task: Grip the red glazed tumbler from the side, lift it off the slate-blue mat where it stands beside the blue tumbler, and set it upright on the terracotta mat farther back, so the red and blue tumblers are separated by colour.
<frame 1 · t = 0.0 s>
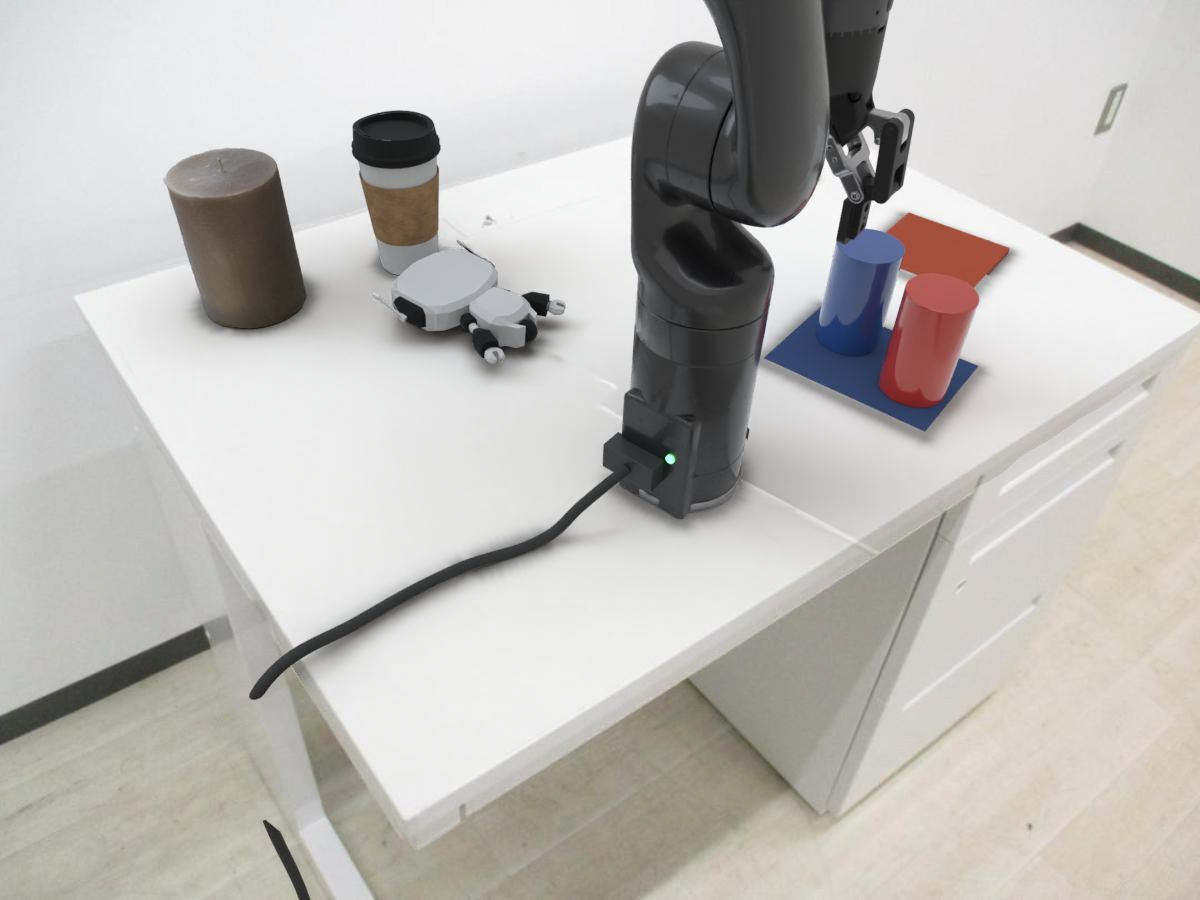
hand: (797, 220, 73), 17 cm above the table, tool pointing down, fingers open, 8 cm apart
pillar candle: (255, 302, 93), on the table
coffee cup: (410, 262, 99), on the table
red tumbler: (911, 386, 85), point 1 cm above the table, touching blue mat
red mat: (934, 255, 103), on the table
robot toy: (474, 326, 91), on the table
blue tumbler: (847, 337, 91), point 1 cm above the table, touching blue mat
blue mat: (869, 366, 88), on the table
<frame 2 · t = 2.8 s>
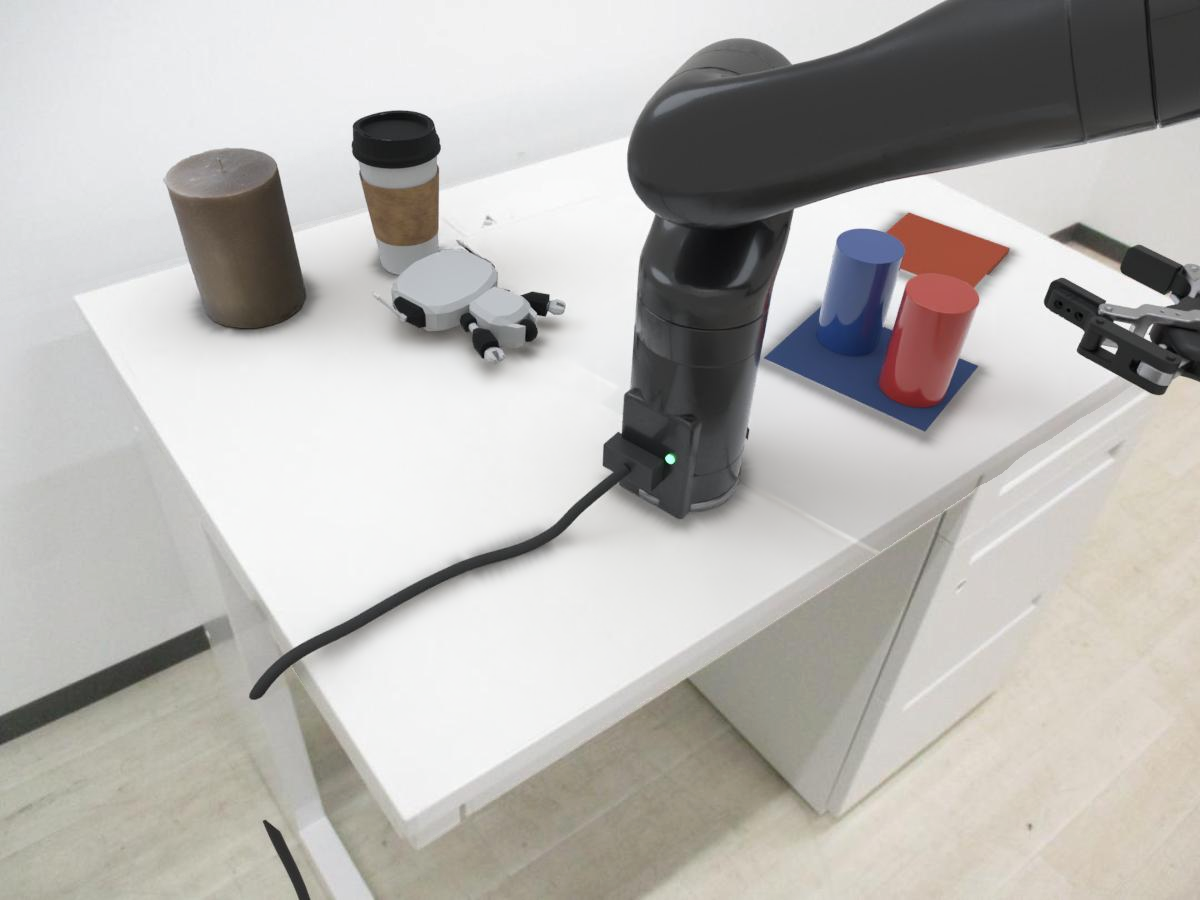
hand: (1089, 273, 67), 18 cm above the table, tool horizontal, fingers open, 8 cm apart
nothing on the table moved.
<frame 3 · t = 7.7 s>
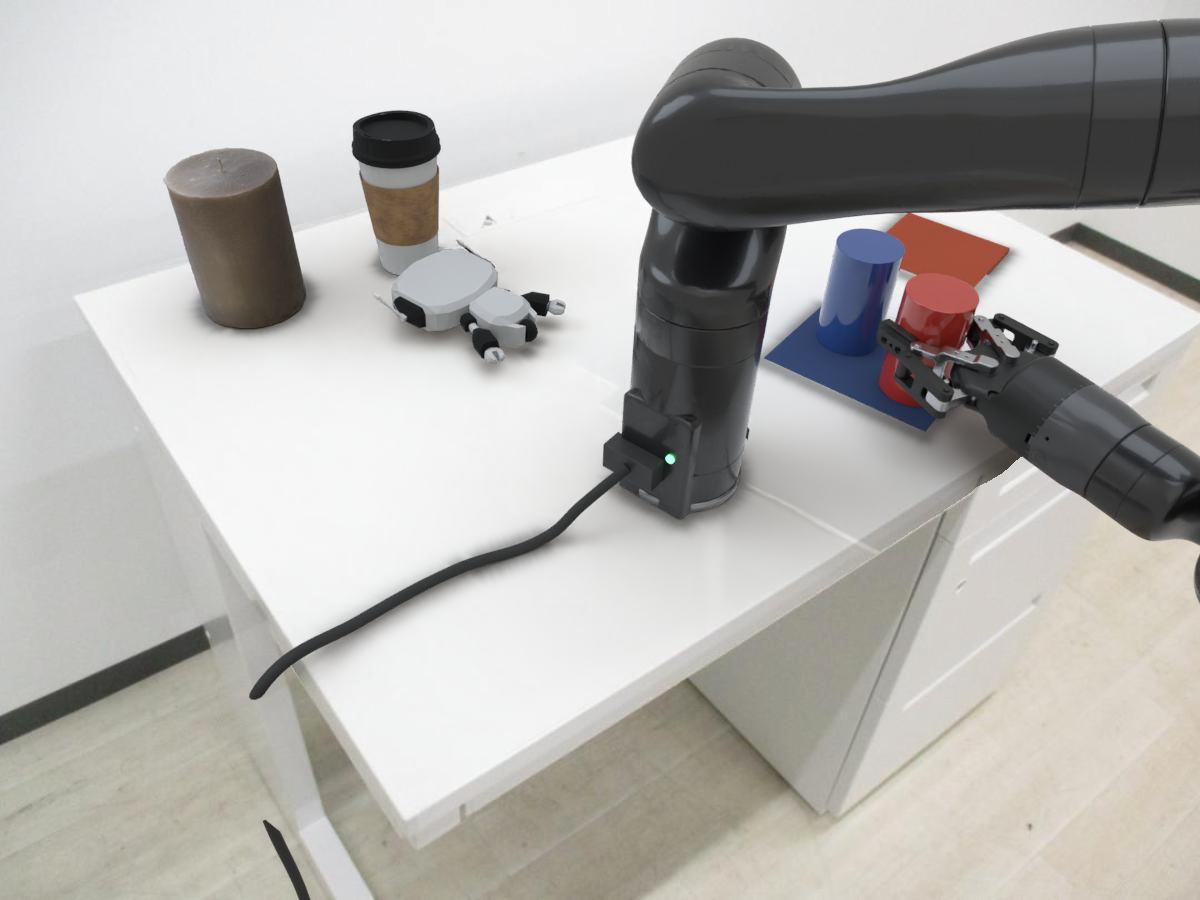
hand: (908, 317, 83), 7 cm above the table, tool horizontal, fingers closed on red tumbler, 6 cm apart
red tumbler: (911, 386, 85), point 1 cm above the table, touching blue mat, gripper
everything else where it was.
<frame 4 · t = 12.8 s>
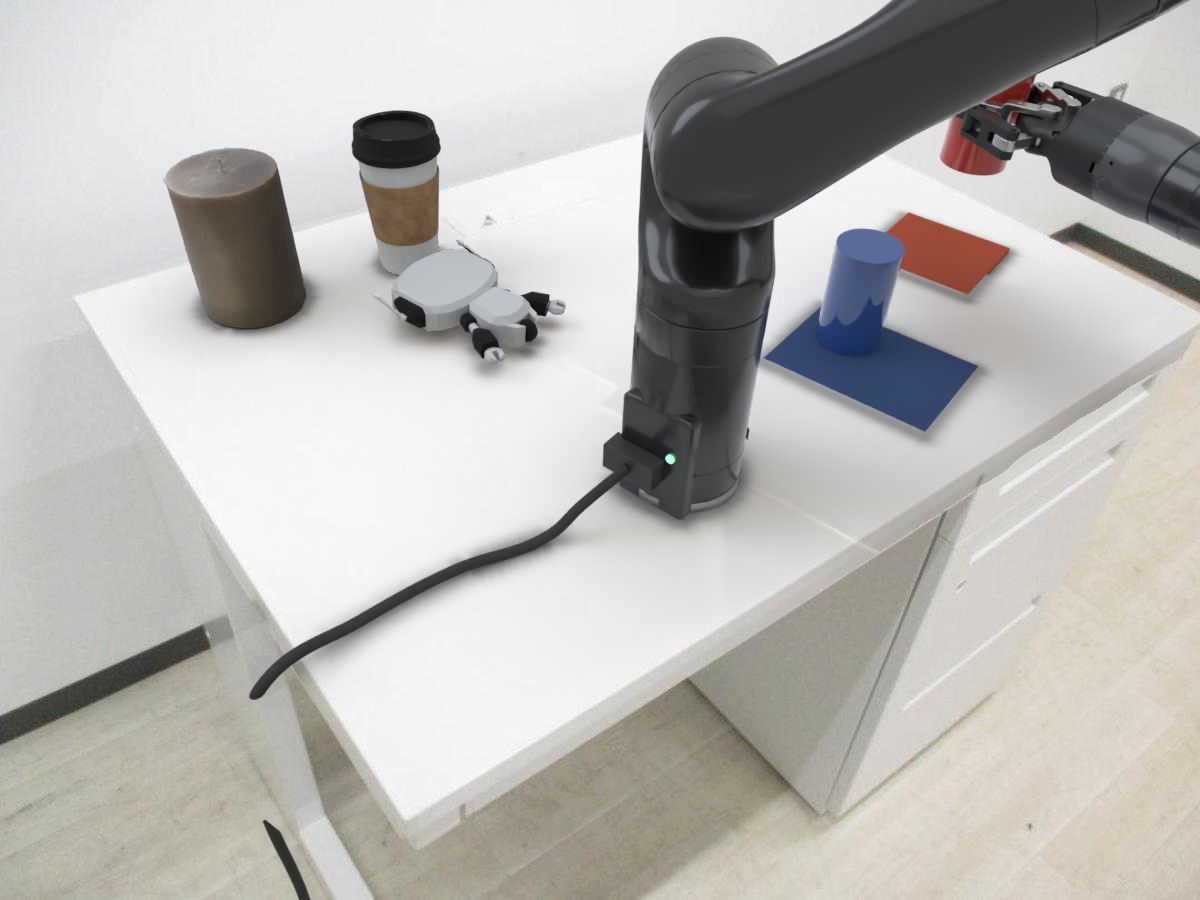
hand: (971, 88, 87), 20 cm above the table, tool horizontal, fingers closed on red tumbler, 6 cm apart
red tumbler: (972, 161, 89), point 14 cm above the table, touching gripper
everything else where it was.
when the fingers open (7 cm above the table, at t = 17.8 s): red tumbler stays where it is, resting on red mat.
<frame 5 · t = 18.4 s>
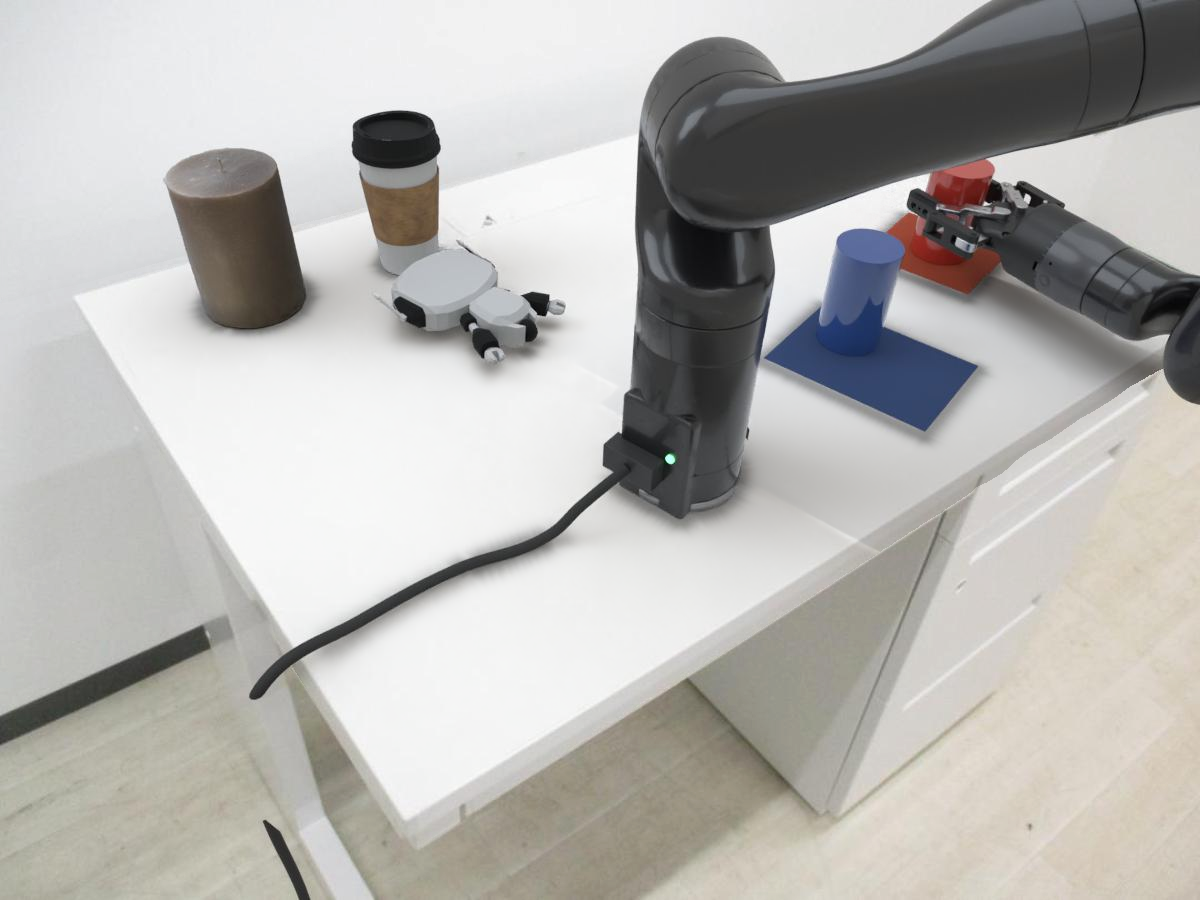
hand: (939, 187, 100), 7 cm above the table, tool horizontal, fingers open, 8 cm apart
red tumbler: (937, 250, 103), point 1 cm above the table, touching red mat
everything else where it was.
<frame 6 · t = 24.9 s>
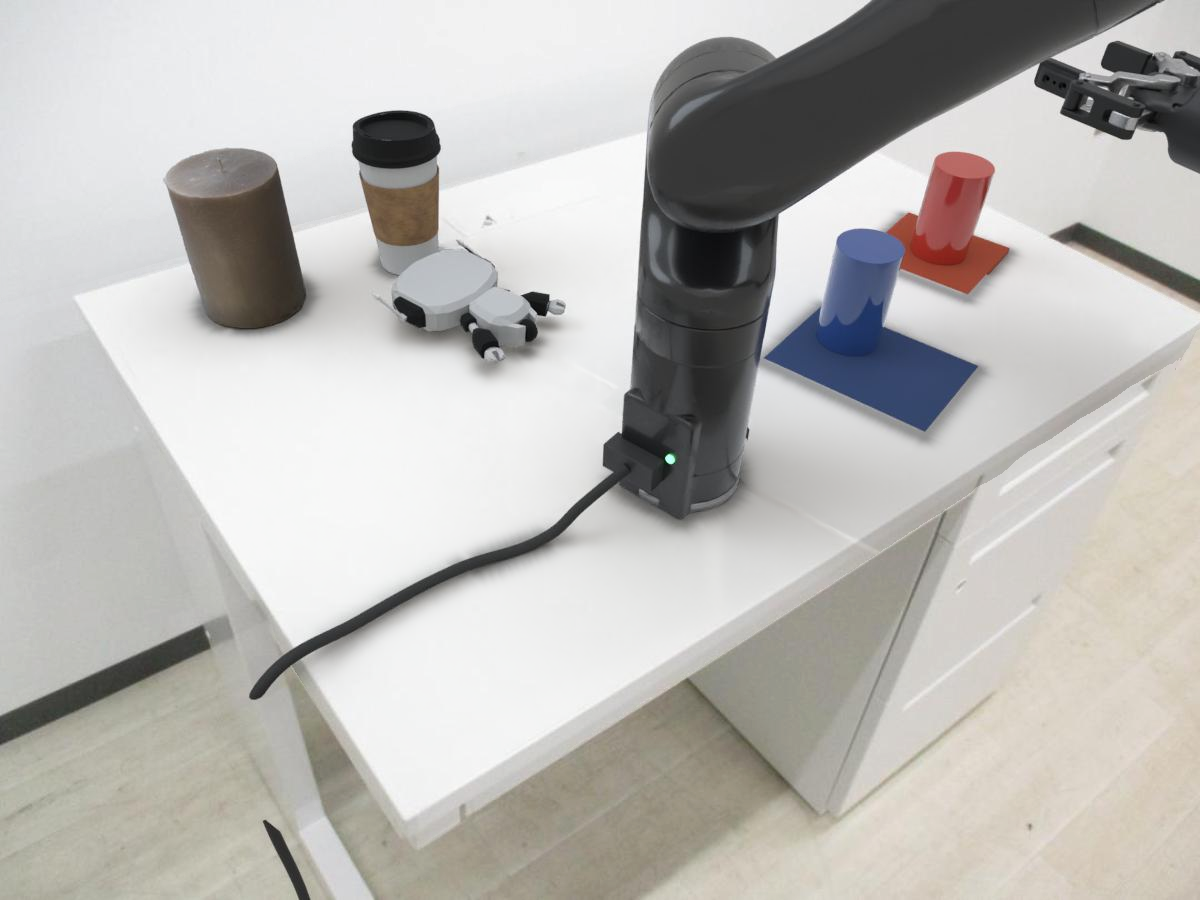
hand: (1073, 61, 78), 25 cm above the table, tool horizontal, fingers open, 8 cm apart
nothing on the table moved.
at the end: red tumbler inside the target area on the red mat (0.1 cm from its centre), point 0.6 cm above the red mat's base; red tumbler tilted 0°; blue tumbler inside the target area on the blue mat (4.0 cm from its centre), point 0.6 cm above the blue mat's base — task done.
